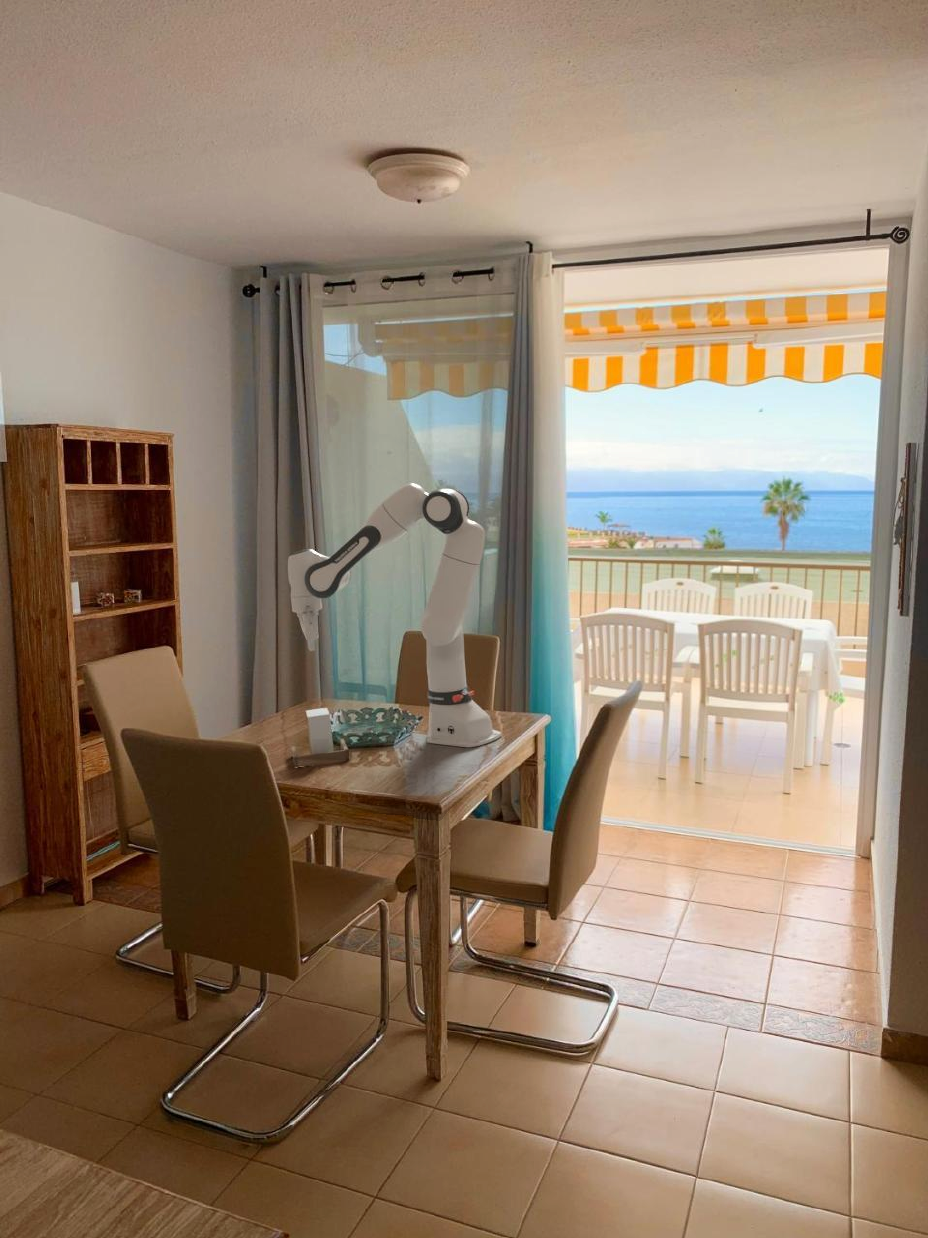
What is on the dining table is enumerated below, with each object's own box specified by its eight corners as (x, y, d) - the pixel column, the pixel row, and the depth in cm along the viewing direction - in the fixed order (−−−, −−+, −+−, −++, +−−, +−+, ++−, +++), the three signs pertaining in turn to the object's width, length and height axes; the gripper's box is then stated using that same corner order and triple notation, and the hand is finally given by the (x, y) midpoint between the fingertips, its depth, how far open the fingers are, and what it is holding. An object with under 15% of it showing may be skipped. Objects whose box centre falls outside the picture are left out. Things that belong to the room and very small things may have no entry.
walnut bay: (292, 756, 274) (290, 745, 274) (344, 748, 277) (343, 738, 277) (294, 768, 262) (293, 758, 262) (349, 760, 265) (348, 750, 265)
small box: (310, 754, 275) (305, 710, 273) (332, 751, 276) (327, 707, 274) (312, 762, 267) (307, 717, 265) (335, 759, 268) (330, 713, 266)
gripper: (320, 607, 274) (325, 655, 277) (314, 599, 294) (319, 643, 296) (298, 610, 273) (303, 657, 275) (293, 601, 293) (299, 645, 295)
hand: (311, 650), depth 286 cm, fingers closed
